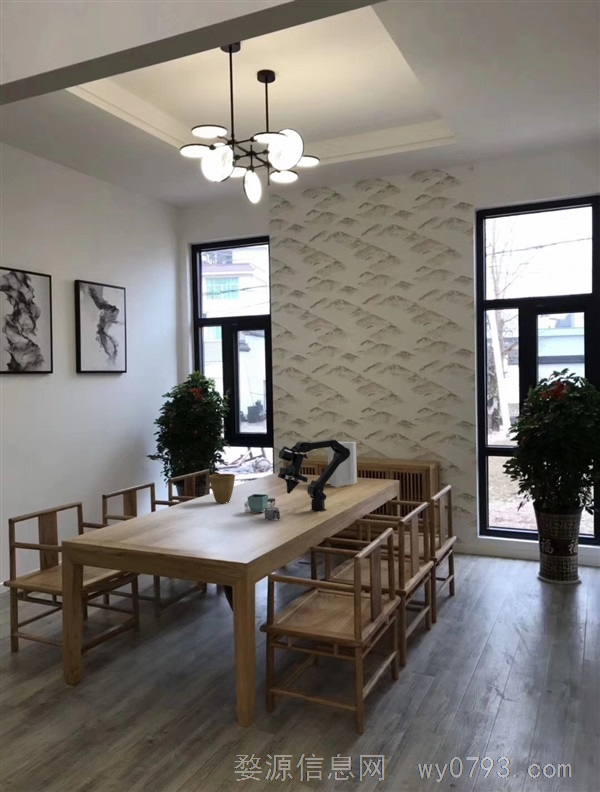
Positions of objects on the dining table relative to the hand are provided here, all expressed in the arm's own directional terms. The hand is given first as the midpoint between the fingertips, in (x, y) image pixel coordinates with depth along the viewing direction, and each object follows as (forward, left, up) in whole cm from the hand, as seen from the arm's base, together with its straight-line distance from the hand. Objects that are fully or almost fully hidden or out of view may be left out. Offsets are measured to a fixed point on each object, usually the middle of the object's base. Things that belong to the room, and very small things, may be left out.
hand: (288, 493), depth 329 cm
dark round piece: (+11, 0, -7) cm, 13 cm away
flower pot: (+7, -18, -12) cm, 23 cm away
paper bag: (-78, -49, -12) cm, 93 cm away
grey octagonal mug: (+11, +1, -11) cm, 16 cm away
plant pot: (+6, -56, -12) cm, 58 cm away
